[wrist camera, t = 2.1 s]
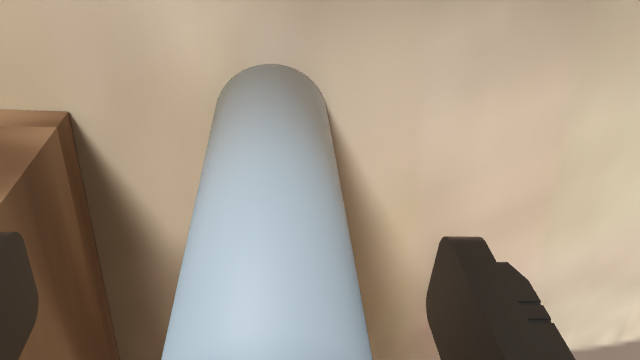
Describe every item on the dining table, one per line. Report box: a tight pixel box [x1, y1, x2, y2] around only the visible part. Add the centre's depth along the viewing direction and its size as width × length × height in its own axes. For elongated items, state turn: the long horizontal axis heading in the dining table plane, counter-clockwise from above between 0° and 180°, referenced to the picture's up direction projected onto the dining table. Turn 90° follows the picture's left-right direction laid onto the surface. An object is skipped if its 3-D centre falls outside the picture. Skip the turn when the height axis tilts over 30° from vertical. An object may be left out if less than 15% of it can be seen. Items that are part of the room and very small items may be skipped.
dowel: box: [161, 64, 372, 360], centre depth 12 cm, size 3×3×10 cm
